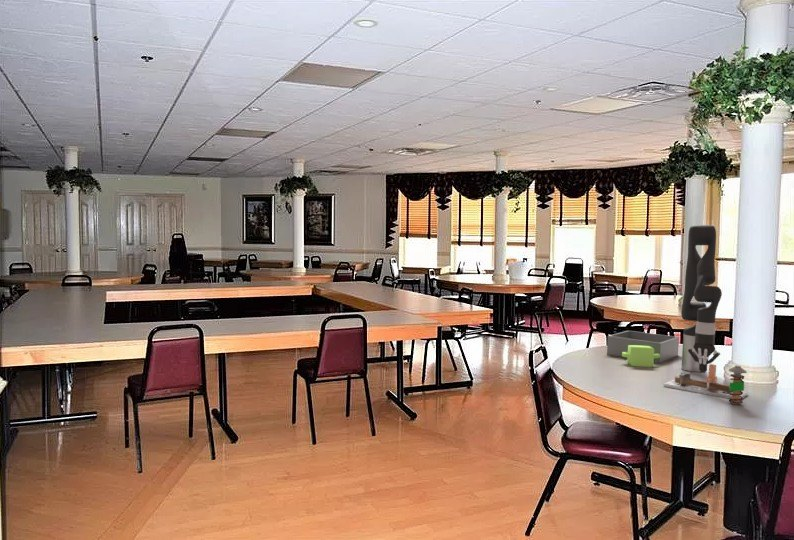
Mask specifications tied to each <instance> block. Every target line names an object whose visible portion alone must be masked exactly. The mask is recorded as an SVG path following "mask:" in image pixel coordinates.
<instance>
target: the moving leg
mask: <svg viewBox="0 0 794 540" xmlns="http://www.w3.org/2000/svg"><path fill="white" fill-rule="evenodd" d="M716 375H717V364H714V363H713V364H712V363H710V364H709V365H708V375H707V376H706V378H705V381H707V389H709V383H717V381H718V376H716Z"/></svg>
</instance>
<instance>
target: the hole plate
mask: <svg viewBox="0 0 794 540" xmlns="http://www.w3.org/2000/svg"><path fill="white" fill-rule="evenodd" d="M663 387H664V388H665V387H666V388H670V389H677V390H681V391H687V392H692V393H698V394H703V395H709V396H713V397H720V398H725V399H732V395H730V393H731V394H732V391H726V390H720V389H715V388H709V389H707V387H703V386H698V385H692V384H686V383H682V385H680V382H675V378H673V379H671V380H669V381H667V382H664V383H663ZM742 392H743V394H742V395H740V396H741V397H742V398H743V399H744V398H746V397H747V396H748V395H749V393H748V391H745V390H744V391H742ZM740 394H741V393H740ZM741 397H740V399H741Z"/></svg>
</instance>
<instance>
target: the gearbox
mask: <svg viewBox="0 0 794 540" xmlns="http://www.w3.org/2000/svg"><path fill="white" fill-rule="evenodd" d="M622 356H623V357H622V358H627V361H626V362H627V364H629V366H631V367H641V368H642V367H643V368H644V367H645V368H651V367H654V363H655V362H654V358H659V357H660V355H659V354H654V348H652V347H650V346H641V345H628V352H622Z"/></svg>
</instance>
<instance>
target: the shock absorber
mask: <svg viewBox="0 0 794 540" xmlns="http://www.w3.org/2000/svg"><path fill="white" fill-rule="evenodd" d="M728 372H731V373H732V374H730V377H732V378H730V380H731V381H732V382H730V383H729V384H728V385H729V391H733V392H732V394H731V393H730V395H732V399H730V398H728V399H729V400H728V401H729V402H730V403H731V404H732V405H737V406H739V405H740V404H743V403H744V402H743V401H742V400H743V399H744V398H742V397H741V396H740V395H742V394H743V392H742V391H744V392H745V381H744V379H745V376H744V375H742V374H747V373H748V372H747V370H745V369H744V368H743V367H742V366H741V365H735V366H734V367H731V368H729V369H728ZM740 392H741V394H740ZM740 397H741V399H740Z"/></svg>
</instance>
